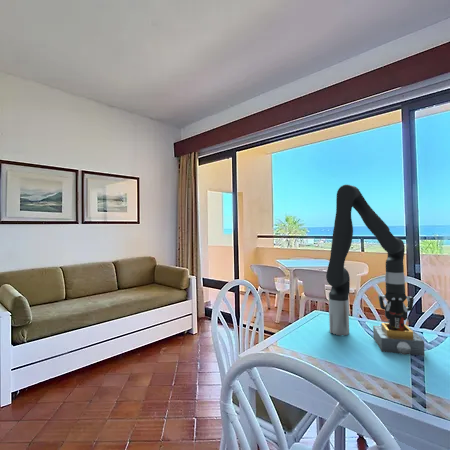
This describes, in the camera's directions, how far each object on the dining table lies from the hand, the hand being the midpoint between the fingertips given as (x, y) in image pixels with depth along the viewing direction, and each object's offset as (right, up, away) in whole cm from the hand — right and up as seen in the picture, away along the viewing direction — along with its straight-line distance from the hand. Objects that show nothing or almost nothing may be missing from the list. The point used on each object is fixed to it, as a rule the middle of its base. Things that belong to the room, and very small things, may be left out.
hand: (396, 319), depth 129 cm
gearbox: (0, -12, 0) cm, 12 cm away
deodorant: (0, -6, 0) cm, 6 cm away
